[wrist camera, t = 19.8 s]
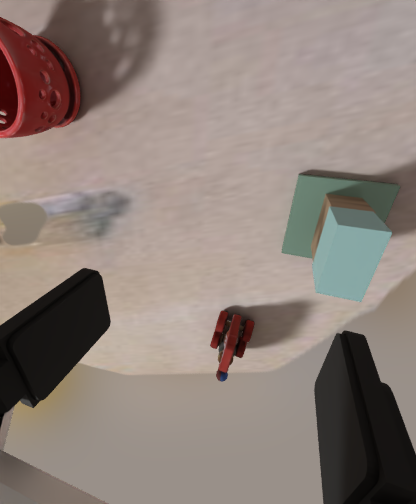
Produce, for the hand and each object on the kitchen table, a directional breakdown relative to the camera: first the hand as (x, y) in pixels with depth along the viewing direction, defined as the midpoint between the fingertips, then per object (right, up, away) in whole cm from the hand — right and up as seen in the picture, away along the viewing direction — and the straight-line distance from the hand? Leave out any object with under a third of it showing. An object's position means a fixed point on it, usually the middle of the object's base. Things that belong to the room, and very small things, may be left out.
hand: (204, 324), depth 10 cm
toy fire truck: (+5, -13, +41) cm, 44 cm away
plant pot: (-24, +29, +29) cm, 48 cm away
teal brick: (+16, +4, +20) cm, 26 cm away
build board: (+18, +7, +26) cm, 32 cm away
